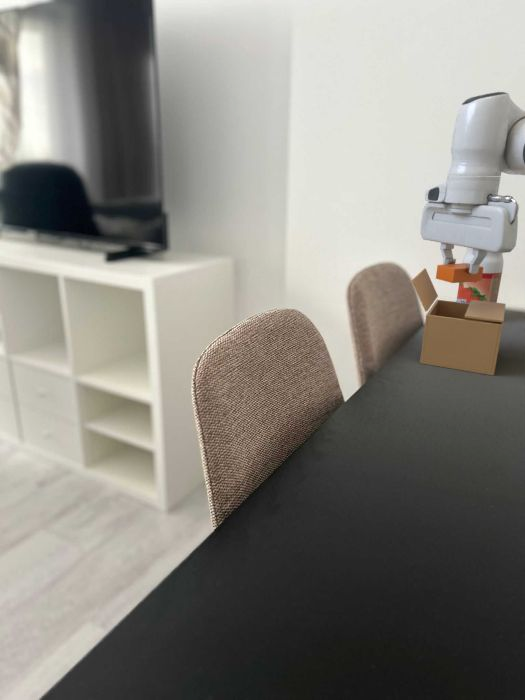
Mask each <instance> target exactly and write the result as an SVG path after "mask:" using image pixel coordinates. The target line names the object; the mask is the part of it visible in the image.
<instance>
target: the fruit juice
mask: <svg viewBox="0 0 525 700" xmlns="http://www.w3.org/2000/svg"><path fill="white" fill-rule="evenodd" d="M472 251H473V248H468V247H466V253H465V254H464V256H463V259H462V262H461V263H470V262H471V260H472V259H473V257H474V255H472ZM503 254H504V253H496V252H490V251H487V255H486V257H485V258H484V260H483V261H482V262H481V264H480V265H479V266H481V267H484V268H483V274H482V280H481V281H473V282H461V283H458V289H457V294H456V301H455V302H461V303H470V302H471V300H477V301H486V302H495V303H498V298H499V292H500V287H501V281H502V276H503V275H502V274H503V271H504V256H503Z"/></svg>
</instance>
